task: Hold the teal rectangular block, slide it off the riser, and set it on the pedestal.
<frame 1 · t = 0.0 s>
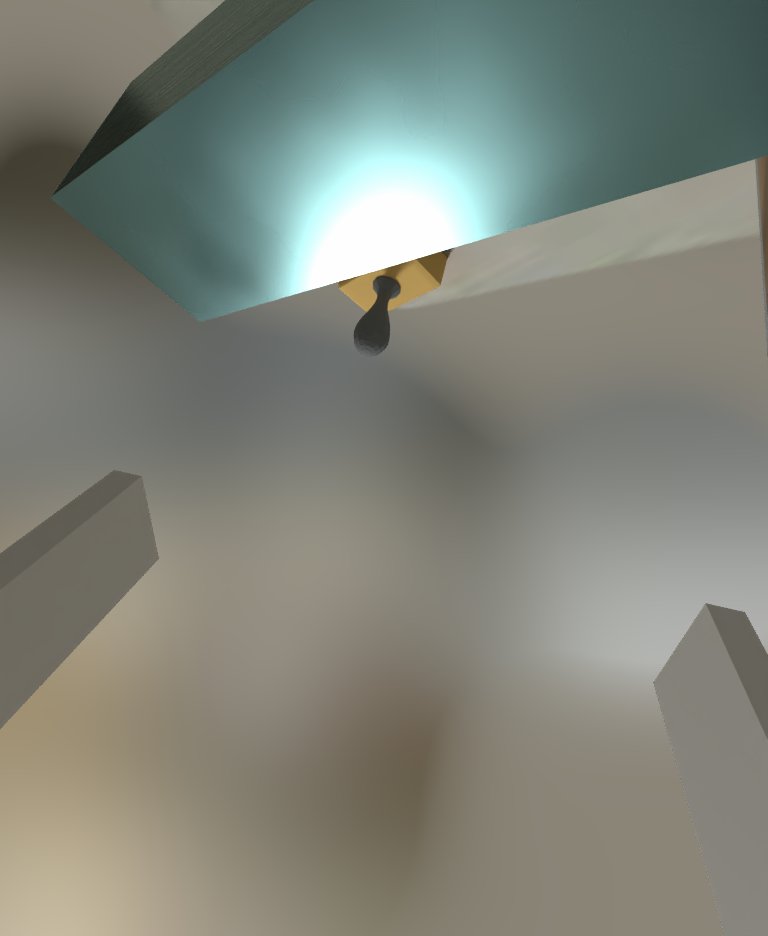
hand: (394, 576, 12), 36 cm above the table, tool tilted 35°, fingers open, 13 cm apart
rubber stamp: (395, 258, 50), on the table
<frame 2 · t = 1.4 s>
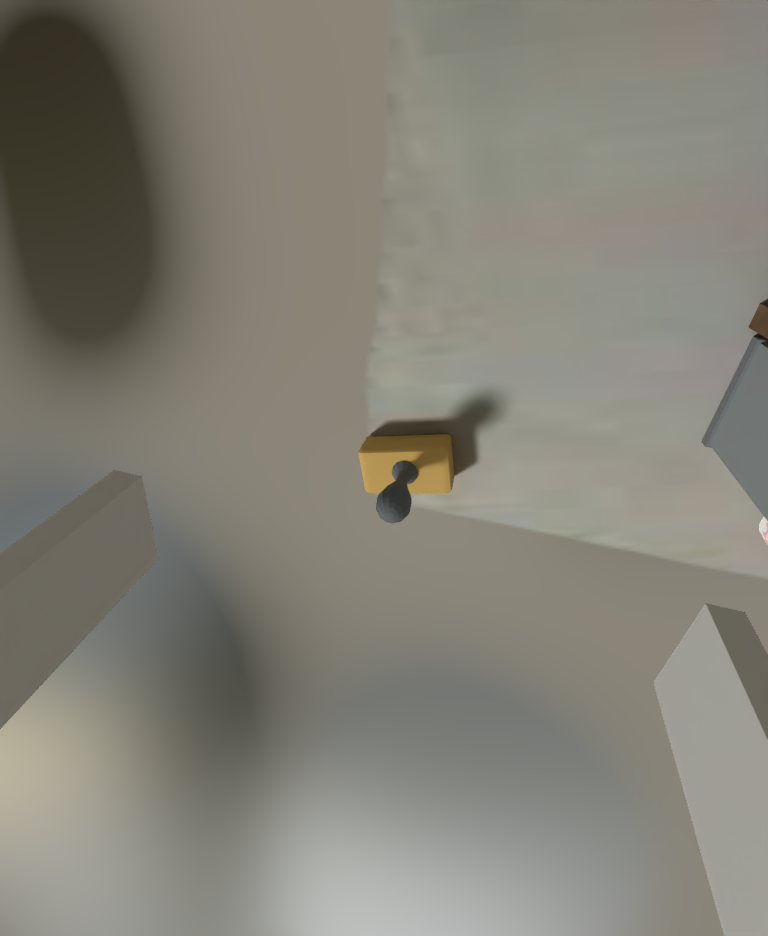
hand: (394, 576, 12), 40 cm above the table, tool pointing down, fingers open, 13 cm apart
rubber stamp: (410, 455, 56), on the table
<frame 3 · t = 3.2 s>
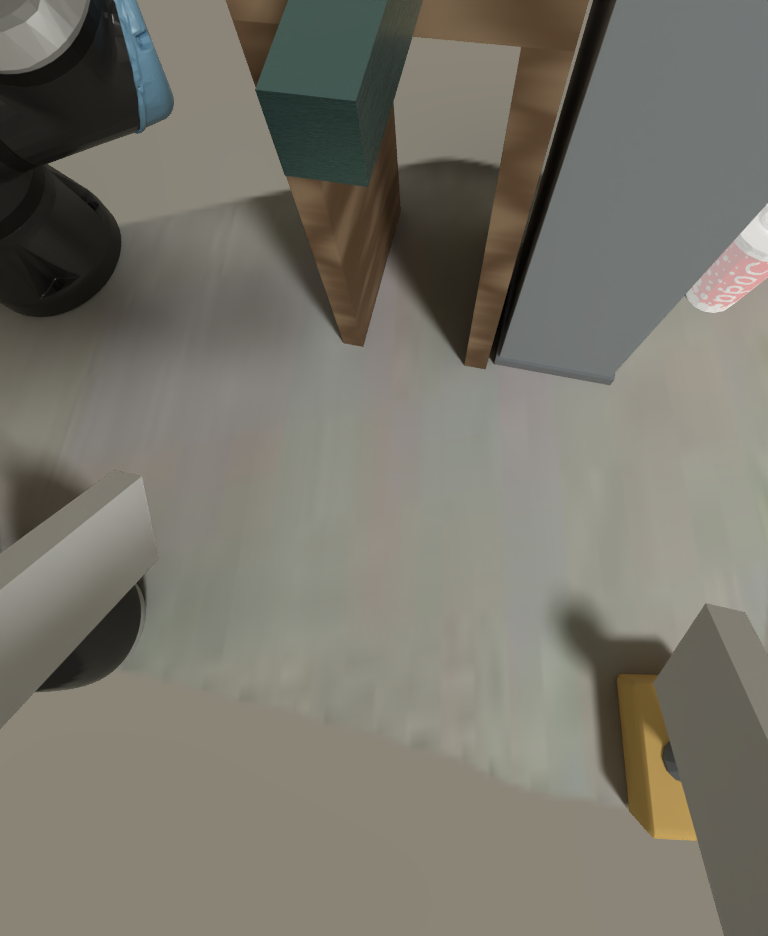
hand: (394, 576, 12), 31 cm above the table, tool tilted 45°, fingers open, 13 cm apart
rubber stamp: (658, 742, 37), on the table
beverage cup: (709, 292, 45), on the table
pedestal: (561, 314, 46), on the table
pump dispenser: (110, 615, 43), on the table
riser: (430, 283, 48), on the table
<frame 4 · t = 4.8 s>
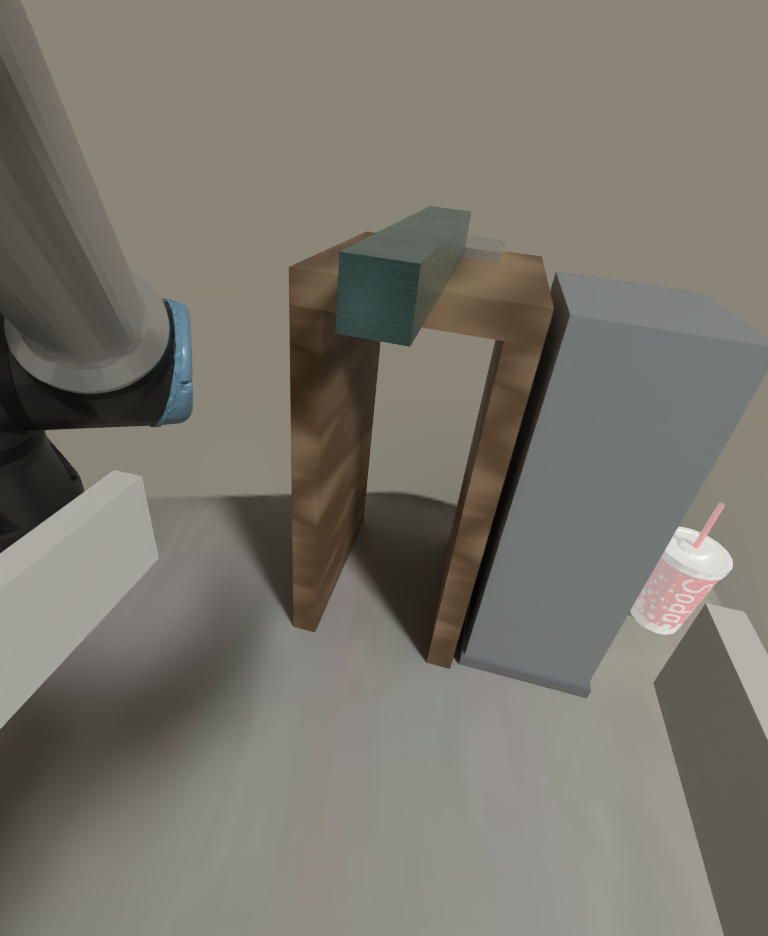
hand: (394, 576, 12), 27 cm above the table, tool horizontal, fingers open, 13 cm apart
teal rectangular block: (419, 283, 26), point 30 cm above the table, touching riser
beverage cup: (652, 616, 48), on the table
pedestal: (521, 621, 45), on the table
riser: (390, 580, 48), on the table
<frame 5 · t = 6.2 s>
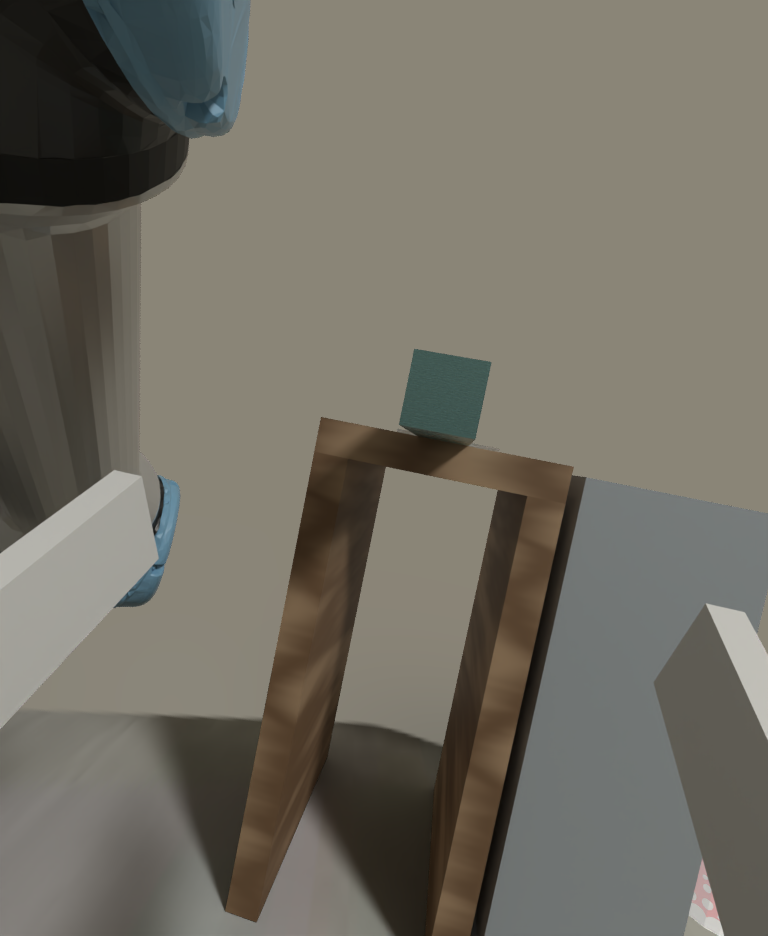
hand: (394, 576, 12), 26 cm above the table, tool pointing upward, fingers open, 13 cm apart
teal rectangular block: (443, 441, 27), point 30 cm above the table, touching riser
beverage cup: (706, 910, 36), on the table
pedestal: (543, 912, 33), on the table
riser: (363, 841, 36), on the table
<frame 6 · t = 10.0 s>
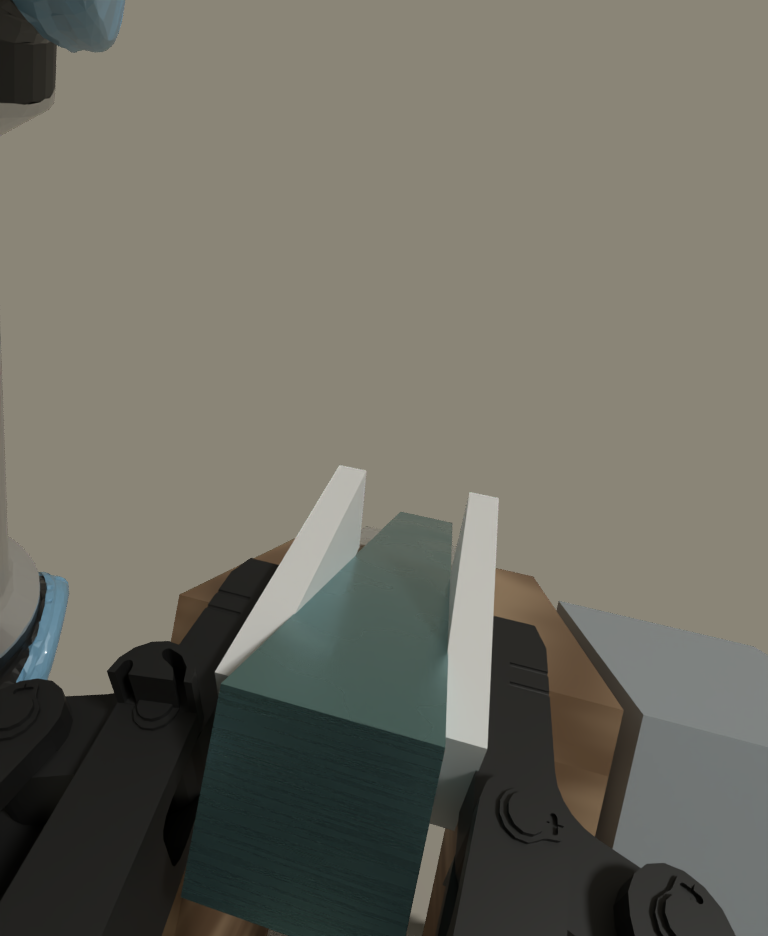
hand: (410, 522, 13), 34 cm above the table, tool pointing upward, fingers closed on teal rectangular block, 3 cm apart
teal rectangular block: (391, 636, 16), point 30 cm above the table, touching gripper
when the fingers open (35 cm above the table, at t = 16.7 s): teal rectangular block drops 1 cm, resting on pedestal.
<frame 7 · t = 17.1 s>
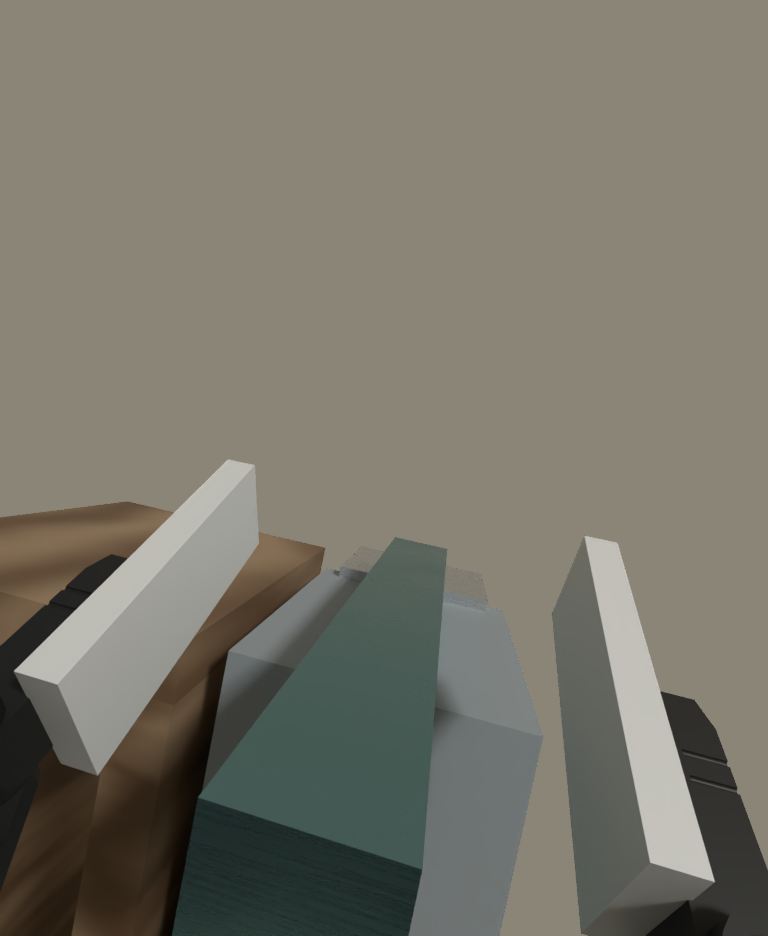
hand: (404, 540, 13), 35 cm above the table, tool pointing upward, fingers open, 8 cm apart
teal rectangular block: (383, 678, 16), point 30 cm above the table, touching pedestal
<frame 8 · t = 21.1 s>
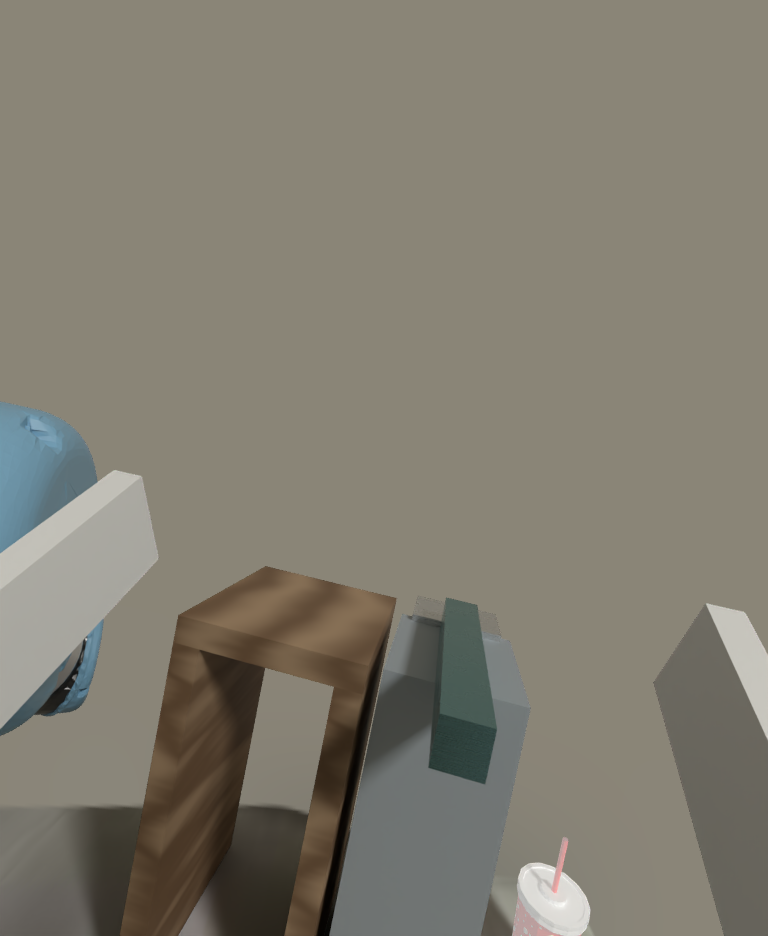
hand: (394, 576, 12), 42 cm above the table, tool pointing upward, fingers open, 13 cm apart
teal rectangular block: (455, 682, 33), point 30 cm above the table, touching pedestal
riser: (241, 933, 42), on the table
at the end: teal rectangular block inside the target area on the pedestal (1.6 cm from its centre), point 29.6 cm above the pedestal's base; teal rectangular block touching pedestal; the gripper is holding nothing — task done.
